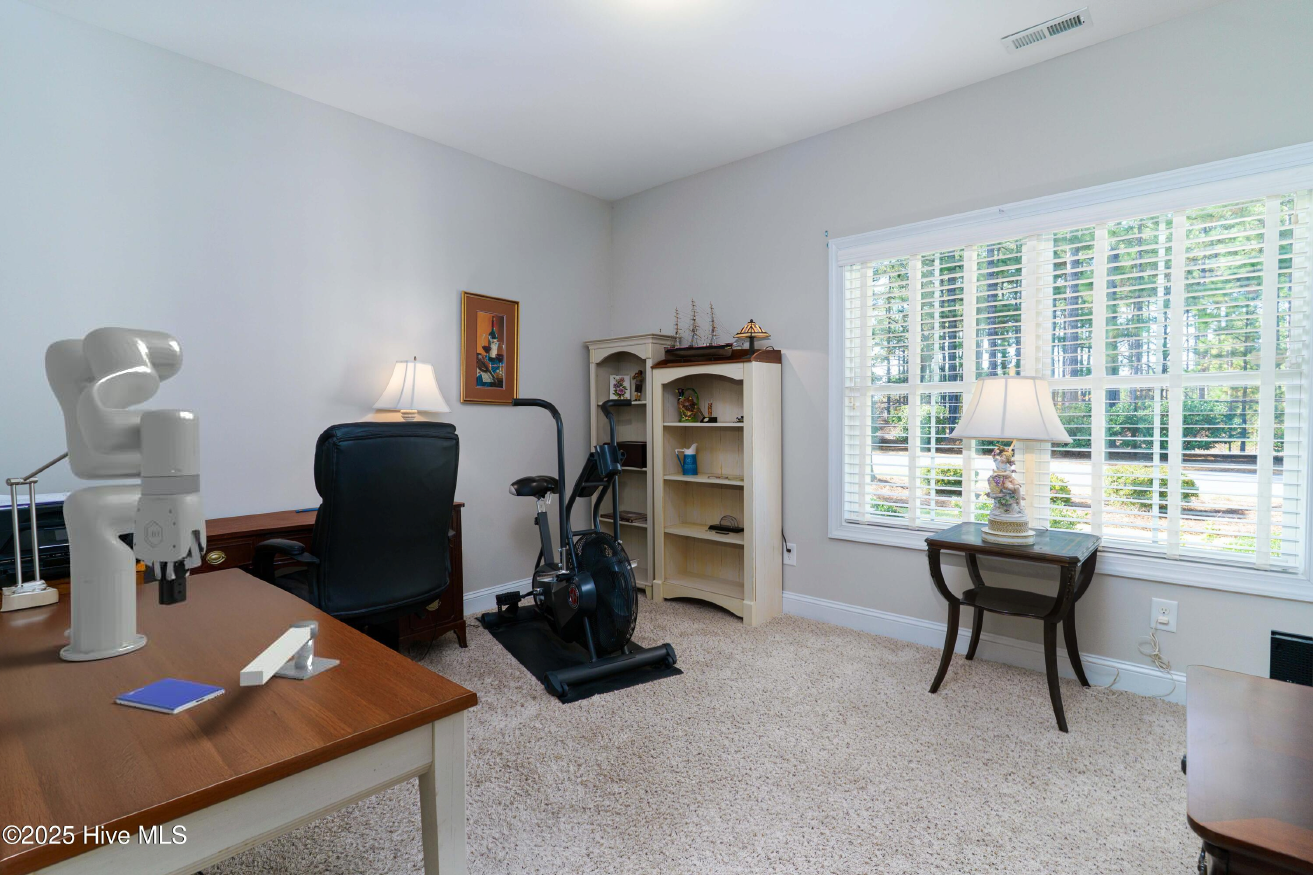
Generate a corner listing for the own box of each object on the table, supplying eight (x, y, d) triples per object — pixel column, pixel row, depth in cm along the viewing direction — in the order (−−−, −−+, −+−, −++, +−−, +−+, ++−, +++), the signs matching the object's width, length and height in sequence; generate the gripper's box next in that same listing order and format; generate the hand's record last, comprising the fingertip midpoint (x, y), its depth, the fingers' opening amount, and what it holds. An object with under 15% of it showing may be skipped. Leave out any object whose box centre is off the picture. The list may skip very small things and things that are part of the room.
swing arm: (294, 632, 117) (294, 621, 117) (321, 630, 118) (321, 619, 118) (234, 686, 93) (234, 672, 93) (268, 683, 93) (268, 670, 93)
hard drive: (116, 696, 101) (173, 707, 97) (169, 676, 109) (224, 686, 105) (116, 706, 101) (173, 717, 97) (169, 686, 109) (224, 696, 105)
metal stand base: (267, 674, 112) (267, 641, 112) (304, 658, 120) (304, 628, 120) (303, 679, 110) (303, 646, 110) (339, 663, 118) (339, 632, 118)
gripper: (111, 488, 101) (113, 605, 101) (182, 490, 96) (184, 612, 96) (160, 484, 108) (162, 594, 108) (229, 486, 104) (230, 600, 104)
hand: (172, 602), depth 102 cm, fingers closed
